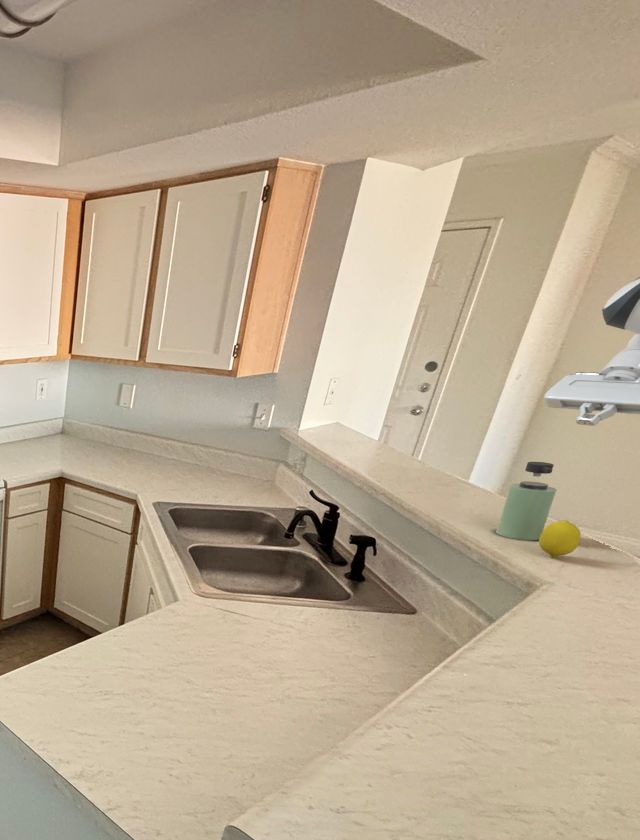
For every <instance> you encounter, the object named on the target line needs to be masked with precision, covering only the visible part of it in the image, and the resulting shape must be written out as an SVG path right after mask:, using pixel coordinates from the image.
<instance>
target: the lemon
mask: <svg viewBox="0 0 640 840" xmlns="http://www.w3.org/2000/svg"><path fill="white" fill-rule="evenodd" d="M538 542H539V548H540V549H541V550H542V551H543V552H545V553H546V554H548V555H549V556H550V558H552V559H553V558H558V557H560V556H566V555H569V554H571V553H572V552H574V551H575V550H576V549H577V548H578V547H579V544H580V542H581V531H580V529H579V527H578V526H576V525H575V524H574V523H572V522H570V521H569V520H567V519H563V520H561V521H555V522H552V523H550V524H548V525H547V526H545V527H544V529H543V531H542V533H541V535H540V538H539V540H538Z"/></svg>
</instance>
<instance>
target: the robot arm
mask: <svg viewBox="0 0 640 840" xmlns="http://www.w3.org/2000/svg"><path fill="white" fill-rule="evenodd" d="M601 311H602V317H603V321H604V323H605V324H606V326H610V327H612V328H617V329H620V330H623V331H624V330H626V331H629V332H632V333H633V334H634V333H635V334H634V335H633V336H632V337H631V338H630V339H629V340H628V342H627V344H626V347H625V348H624V349H621V350H620V351H619V352H617V353H616V354H615V355H614V356H613V357H612V358H611V359H610V360H609V362H608V363H607V364H606V365H605V366H604V367H603V368H602V369H601V370H600V371H599V372H594V371H593V372H592V371H591V372H585V371H577V372H575V373H571V374H567V375H565V376H563V378H561V380H559V381H557V383H555V384H554V385H553V386H552V387H551V388H550V389H548V390H547V391H546V392H545V393H544V395H543V398H544V402H545V403H546V405H547V407H548V408H551V409H567V410H577V411H579V413H580V414H579V415H578V417H576V419H575V423H576V425H579V426H580V425H582V426H592V427H596V426H597V425H598V424H599V423H600V422H601V421H604V420H606V419H609V418H610V417H613V416H615V414H617V413H618V414H628V415H629V414H630V415H640V276H639V277H637V278H636V279H633V281H631V282H628V283H627V284H625V285H624V286H622V287H621V288H619V289H618V290H617V291H615V293H614V294H612V295H611V297H609V299H608V300H607V301H606V302H605V304H604V306H603V307H602V309H601ZM593 412H596V413H595V414H592V413H593Z"/></svg>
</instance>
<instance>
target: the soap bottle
mask: <svg viewBox="0 0 640 840" xmlns="http://www.w3.org/2000/svg"><path fill="white" fill-rule="evenodd" d="M556 493H557V489H556V488H554V487H553V486H549V484H548V483H544V482H538V481H529V480H526V481H525V480H524V481H520V482H519V483H518V482H516V483H511V484H510V485H509V488H508V491H507V494H506V498H505V501H504V504H503V507H502V511H501V514H500V517H499V521H498V523H497V527H496V530H495V533H496V534H497V535H499V536H502V537H505V538H510V539H514V540H521V541H539V538H540V535H541V533H542V531H543V530H544V529H545V527H546V526H545V525H546V523H547V519H548V517H549V514H550V510H551V507H552V504H553V501H554V499H555V496H556Z"/></svg>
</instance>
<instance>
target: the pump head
mask: <svg viewBox="0 0 640 840" xmlns="http://www.w3.org/2000/svg"><path fill="white" fill-rule="evenodd" d="M553 468H554V464H553V463H550V462H545V461H528V462H527V463H526V466H525V470H524V471H525V472H528V473H531V474H532V473H533V474H532V476H533V477H537V478H538V477H541V476H542V474H544V475H547V474H552V472H553Z"/></svg>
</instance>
